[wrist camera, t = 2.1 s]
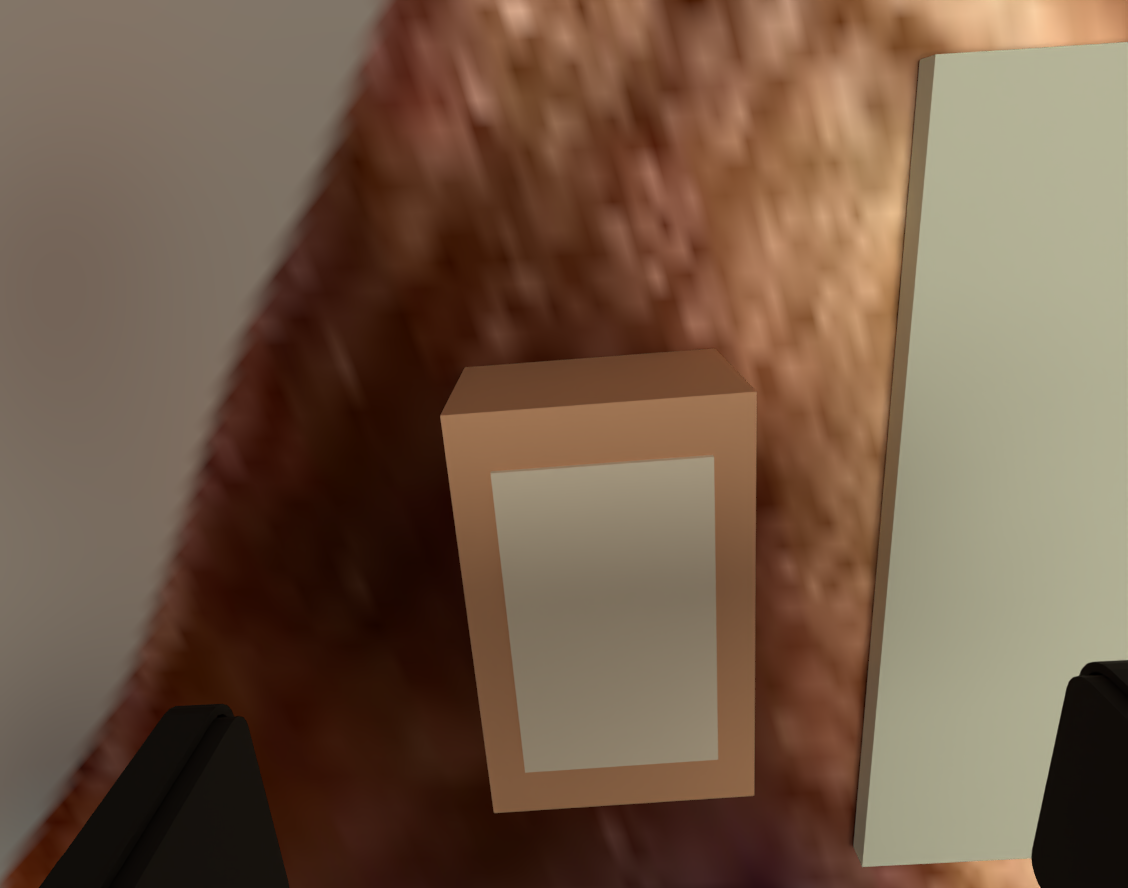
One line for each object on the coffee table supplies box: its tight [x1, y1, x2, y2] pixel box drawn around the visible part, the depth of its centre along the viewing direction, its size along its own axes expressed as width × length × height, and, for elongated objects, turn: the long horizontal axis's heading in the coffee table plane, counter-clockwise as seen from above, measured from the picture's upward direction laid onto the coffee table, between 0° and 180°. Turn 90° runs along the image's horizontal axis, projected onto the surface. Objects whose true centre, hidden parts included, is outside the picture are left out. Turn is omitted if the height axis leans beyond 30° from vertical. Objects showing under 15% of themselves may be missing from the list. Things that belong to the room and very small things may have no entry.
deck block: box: [440, 348, 757, 813], centre depth 15 cm, size 8×5×4 cm, turn 4°
